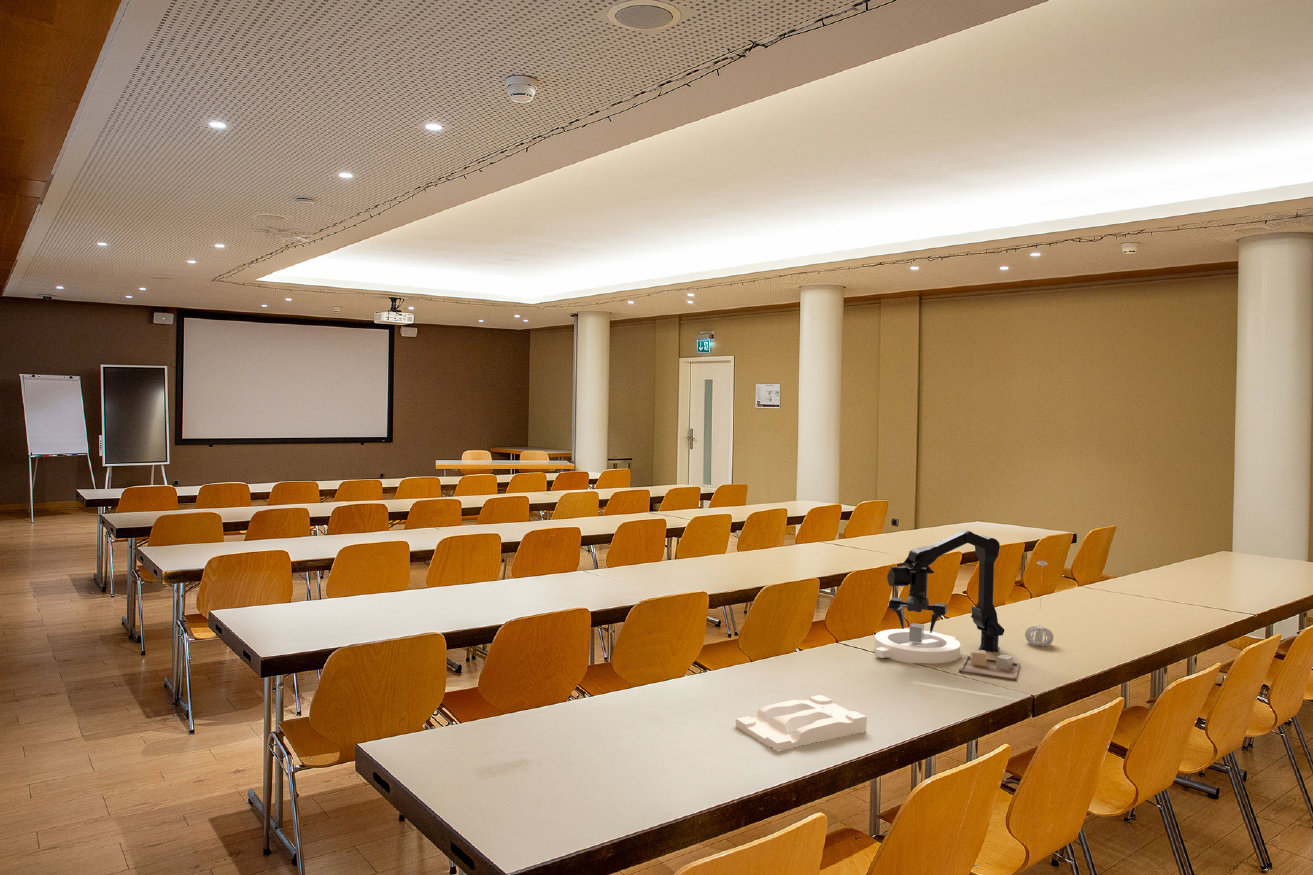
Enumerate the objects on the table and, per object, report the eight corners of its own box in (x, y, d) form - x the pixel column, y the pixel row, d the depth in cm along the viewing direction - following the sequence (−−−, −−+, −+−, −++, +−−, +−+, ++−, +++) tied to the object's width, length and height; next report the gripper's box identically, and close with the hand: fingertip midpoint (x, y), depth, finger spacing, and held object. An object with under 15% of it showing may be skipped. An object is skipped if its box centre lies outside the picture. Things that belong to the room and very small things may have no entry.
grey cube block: (911, 637, 291) (912, 622, 291) (923, 638, 289) (924, 624, 289) (909, 640, 286) (909, 626, 286) (921, 642, 285) (921, 627, 284)
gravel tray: (966, 658, 281) (966, 655, 281) (1019, 666, 273) (1019, 663, 273) (958, 673, 265) (959, 670, 265) (1015, 682, 257) (1015, 678, 257)
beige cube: (1002, 664, 274) (1002, 654, 274) (1012, 667, 271) (1013, 656, 271) (995, 667, 271) (996, 656, 271) (1006, 670, 268) (1007, 659, 268)
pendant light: (1056, 649, 295) (1059, 564, 294) (1028, 647, 297) (1031, 563, 296) (1049, 641, 304) (1052, 559, 303) (1022, 639, 306) (1025, 558, 305)
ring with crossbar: (956, 646, 298) (956, 632, 298) (963, 669, 271) (963, 655, 271) (875, 638, 305) (875, 625, 305) (874, 661, 278) (874, 646, 278)
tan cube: (969, 661, 277) (970, 649, 277) (984, 662, 276) (984, 650, 276) (971, 664, 273) (972, 652, 273) (986, 665, 272) (986, 653, 272)
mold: (867, 733, 216) (867, 715, 216) (777, 753, 202) (778, 734, 202) (820, 710, 232) (821, 694, 232) (734, 728, 218) (735, 710, 218)
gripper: (885, 587, 284) (884, 632, 285) (943, 593, 276) (941, 640, 276) (892, 581, 294) (891, 625, 295) (948, 587, 285) (946, 632, 286)
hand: (916, 630), depth 288 cm, fingers open, 9 cm apart
